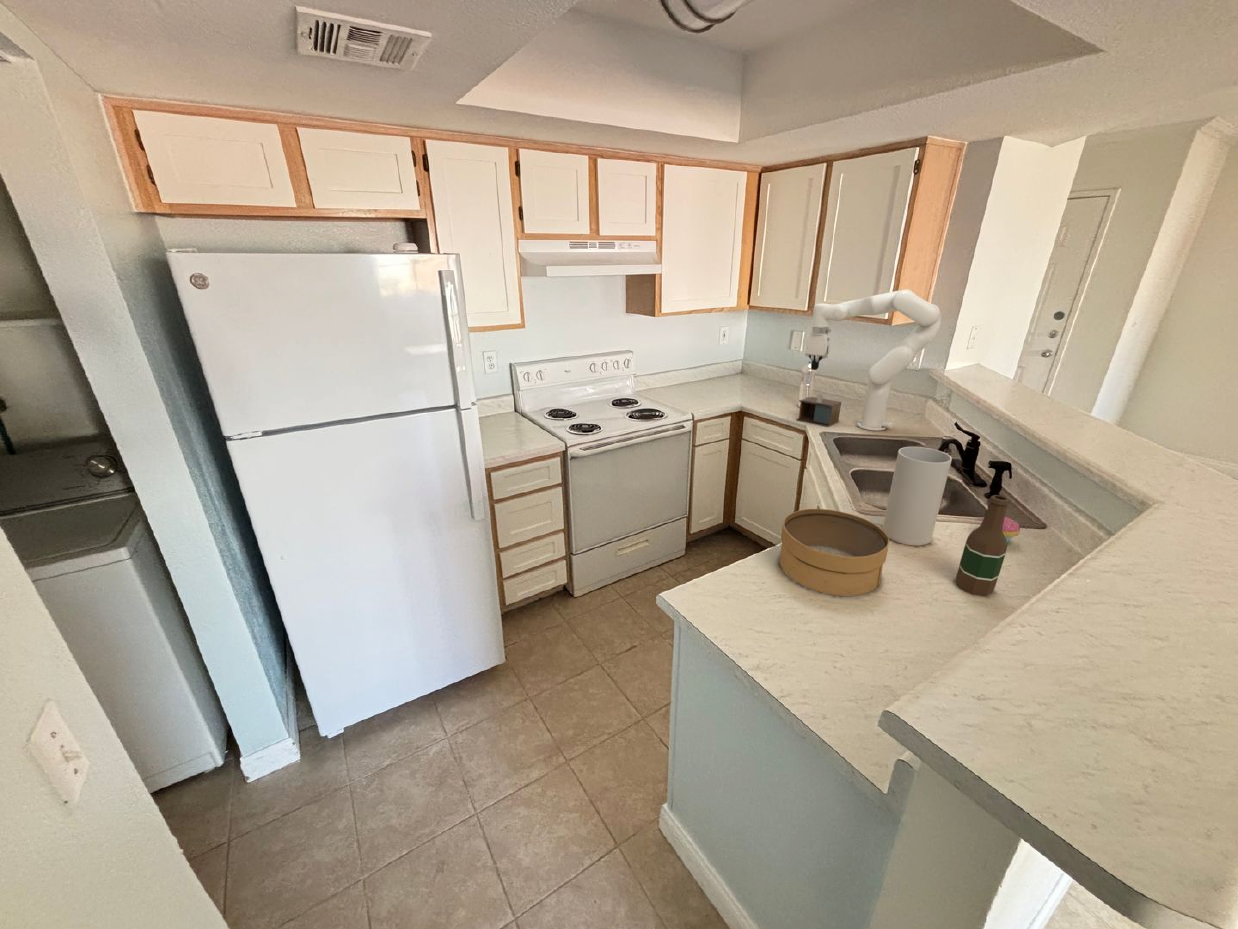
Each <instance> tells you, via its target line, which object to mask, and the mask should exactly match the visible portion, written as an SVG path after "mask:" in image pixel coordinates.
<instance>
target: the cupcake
mask: <svg viewBox="0 0 1238 929" xmlns="http://www.w3.org/2000/svg"><path fill="white" fill-rule="evenodd" d="M1020 533H1021V527H1020V525H1019V524H1018V522H1016V521H1015V520H1014V519H1012V518H1010V517H1008V516H1005V518H1004V523H1003V534H1004V536H1005V538H1006V541H1007V543H1009V542H1010V540H1011V539H1012V538H1013V537H1018V536H1019V535H1020Z"/></svg>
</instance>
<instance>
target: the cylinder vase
mask: <svg viewBox="0 0 1238 929" xmlns="http://www.w3.org/2000/svg"><path fill="white" fill-rule="evenodd" d="M952 460H953V457H952V456H951V455H949V454H948V453H946V452H944V451H941V450H938V449H934V448H929V447H924V446H905V447H901V448H899V449H898V451H897V456H896V461H895V467H894V471H893V474H892V475H893V476H892V481H891V485H890V489H889V495H888V499H887V504H886V507H885V508H886V510H885V513H884V518H883V523H882V528H881V529H882V530H883V531H884V532H885V533H886V534H887V535H888V537H889V540H892V541H894V542H897V543H899V544H903V545H905V546H912V547H913V546H914V547H915V546H916V547H919V546H925V545H927V544H930V543H931V541H932V539H933V535H934V531H935V528H936V524H937V519H938V515H939V512H940V507H941V503H942V500H943V496H944V492H945V488H946V483H947V481H948V477H949V473H950V469H951V468H950V467H951V465H952Z"/></svg>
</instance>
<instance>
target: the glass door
mask: <svg viewBox="0 0 1238 929" xmlns="http://www.w3.org/2000/svg"><path fill="white" fill-rule="evenodd" d="M823 396H824V394H823V393H817V395H816V398H817V401H816V403H818V404H823V403H822V399H823ZM823 405H828V404H823ZM829 406H831V407H826V406H820V405H816V406H815V413H814V420H813V421H815V422H820V423H825V424H829V423H830V416H831V410H832V405H829Z"/></svg>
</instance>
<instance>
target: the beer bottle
mask: <svg viewBox="0 0 1238 929" xmlns="http://www.w3.org/2000/svg"><path fill="white" fill-rule="evenodd" d="M988 500H989V503H988V506H987V509H986V511H985V514H984V517H983V520H982V521H981V524H980V525H979V526H978V527H976V528H975V529H973V530H972V531H971V532H970V533H969V534H968V536H967V538H966V541H965V544H964V546H963V551H962V555H961V558H960V562H959V565H958V568H957V572H956V577H955V582H956V584H957V586H958V588H959V589H960V590H963V591H965V592H966V593H969V594H971V595H976V596H983V597H987V596H989V595H990V594H992V593H993V592H994V590H995V588H996V586H997V583H998V579H999V576H1000V574H1001V569H1002V567H1003V563H1004V560H1005V557H1006V555H1007V551H1008V550H1007V549H1008V542H1007V541H1006V538H1005V536H1004V534H1003V523H1004V518H1005V517H1006V515H1007V514H1006V513H1007V509H1008V505H1010V504H1011V503H1010V502H1011V501H1010V499H1009V498H1008V497H1007V496H1004V495H1000V494H999V495H998V494H993V495H991V496H990V497H989V499H988Z"/></svg>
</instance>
